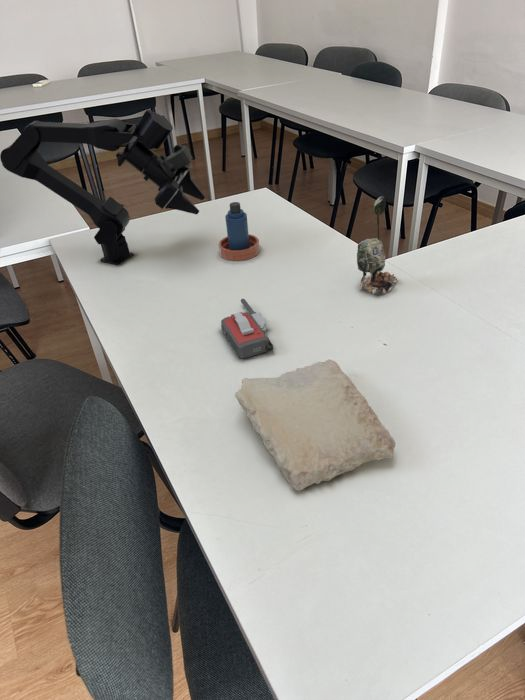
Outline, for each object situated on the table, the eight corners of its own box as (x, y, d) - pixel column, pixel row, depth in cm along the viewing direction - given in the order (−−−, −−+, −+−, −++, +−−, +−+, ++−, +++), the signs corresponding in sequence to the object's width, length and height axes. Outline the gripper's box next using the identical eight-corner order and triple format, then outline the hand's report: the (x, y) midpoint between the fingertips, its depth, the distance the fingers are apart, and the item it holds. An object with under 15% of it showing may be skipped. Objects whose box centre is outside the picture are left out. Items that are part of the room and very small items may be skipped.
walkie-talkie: (283, 351, 102) (247, 303, 118) (282, 332, 100) (245, 286, 115) (241, 364, 100) (210, 313, 115) (239, 345, 98) (207, 296, 113)
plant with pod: (344, 287, 120) (346, 203, 108) (382, 272, 125) (387, 189, 113) (367, 302, 115) (372, 214, 103) (406, 285, 119) (415, 200, 107)
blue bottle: (225, 254, 137) (219, 206, 129) (236, 245, 141) (230, 198, 133) (243, 257, 135) (238, 209, 127) (253, 248, 139) (249, 201, 131)
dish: (218, 263, 134) (216, 252, 132) (222, 245, 143) (221, 234, 141) (258, 261, 134) (257, 250, 132) (260, 243, 142) (259, 232, 140)
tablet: (273, 505, 75) (401, 459, 77) (264, 470, 70) (400, 423, 73) (233, 401, 94) (337, 367, 97) (224, 369, 90) (333, 334, 92)
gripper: (158, 148, 113) (216, 195, 119) (175, 126, 128) (225, 169, 134) (131, 186, 119) (187, 229, 124) (150, 160, 134) (199, 200, 139)
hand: (201, 205), depth 130 cm, fingers open, 9 cm apart
